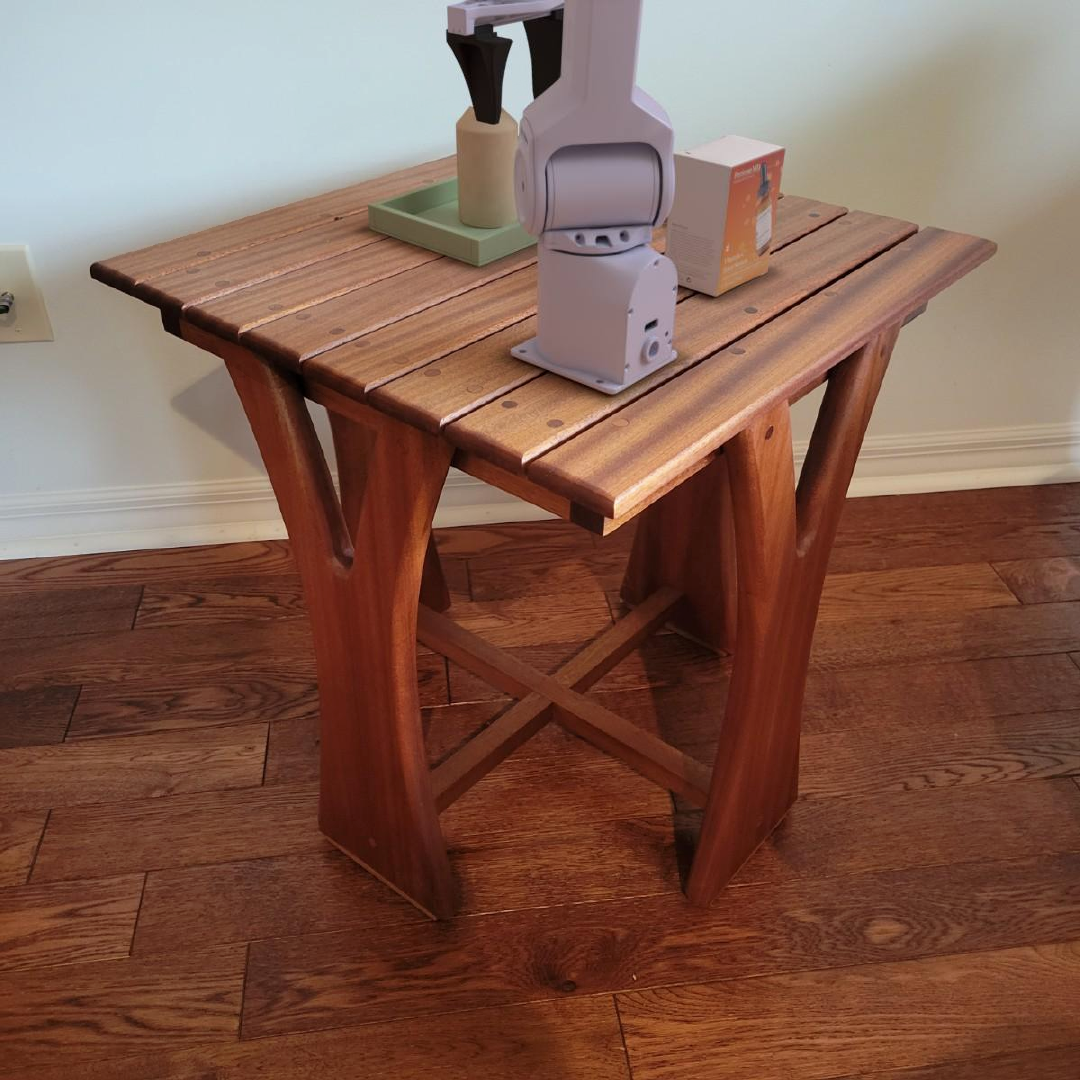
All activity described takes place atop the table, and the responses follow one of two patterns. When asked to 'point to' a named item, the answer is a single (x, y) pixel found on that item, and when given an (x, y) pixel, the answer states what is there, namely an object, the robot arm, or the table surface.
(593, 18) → the robot arm
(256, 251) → the table surface
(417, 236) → the green tray
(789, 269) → the table surface
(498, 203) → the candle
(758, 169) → the small box
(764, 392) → the table surface
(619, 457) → the table surface
